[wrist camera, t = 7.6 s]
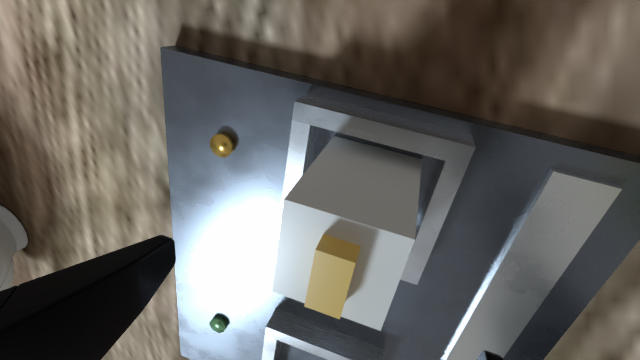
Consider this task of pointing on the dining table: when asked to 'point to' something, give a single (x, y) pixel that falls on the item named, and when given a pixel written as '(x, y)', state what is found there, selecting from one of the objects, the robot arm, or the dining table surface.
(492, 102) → the dining table surface
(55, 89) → the dining table surface
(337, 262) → the plug
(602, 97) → the dining table surface
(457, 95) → the dining table surface
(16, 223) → the teapot
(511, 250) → the panel
